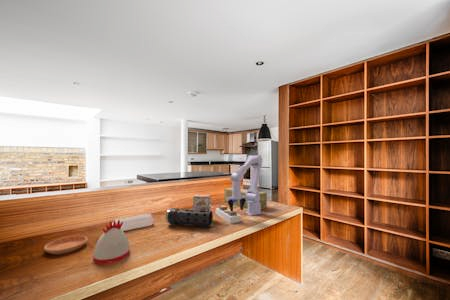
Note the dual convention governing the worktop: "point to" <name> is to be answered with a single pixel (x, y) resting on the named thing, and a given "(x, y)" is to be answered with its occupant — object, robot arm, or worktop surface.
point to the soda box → (243, 192)
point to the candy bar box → (201, 202)
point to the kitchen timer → (111, 245)
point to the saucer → (65, 245)
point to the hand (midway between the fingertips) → (236, 210)
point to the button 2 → (232, 213)
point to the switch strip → (228, 216)
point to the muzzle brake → (189, 217)
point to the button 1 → (223, 207)
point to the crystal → (135, 222)
